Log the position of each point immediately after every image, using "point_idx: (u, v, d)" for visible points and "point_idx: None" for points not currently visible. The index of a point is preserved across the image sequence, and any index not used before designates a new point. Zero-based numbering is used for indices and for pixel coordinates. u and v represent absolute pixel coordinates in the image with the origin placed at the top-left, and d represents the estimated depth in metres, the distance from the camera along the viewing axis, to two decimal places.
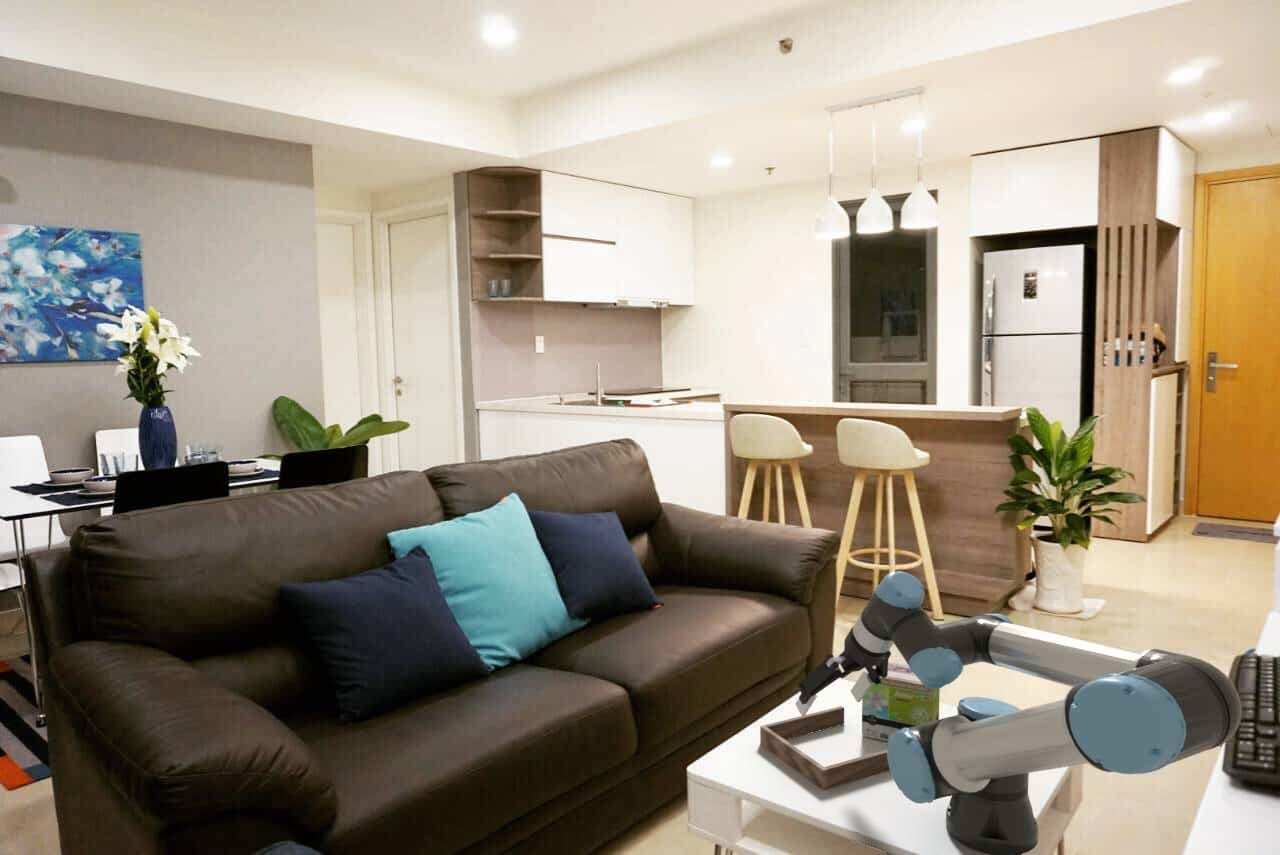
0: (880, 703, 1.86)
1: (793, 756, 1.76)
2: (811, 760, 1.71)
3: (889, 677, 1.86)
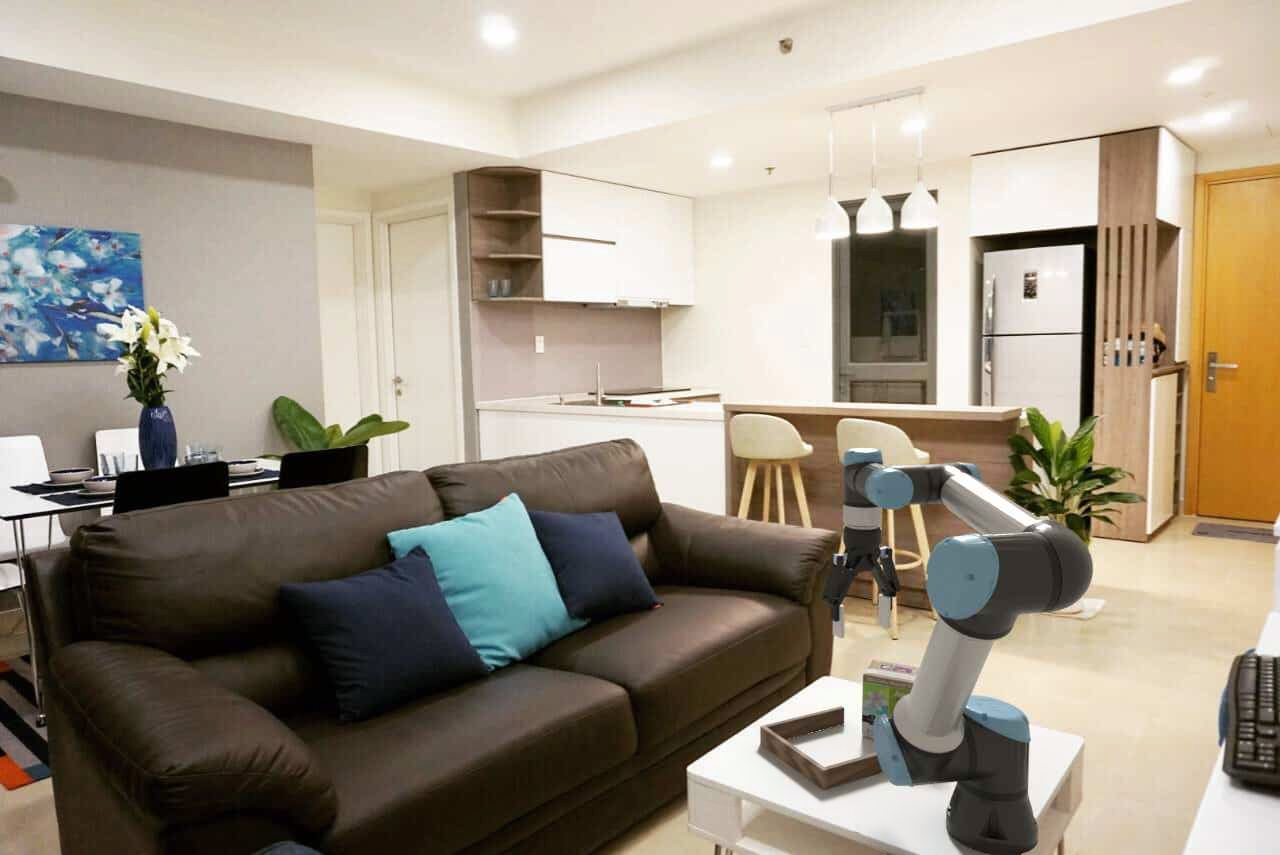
0: (880, 703, 1.86)
1: (793, 756, 1.76)
2: (811, 760, 1.71)
3: (889, 677, 1.86)
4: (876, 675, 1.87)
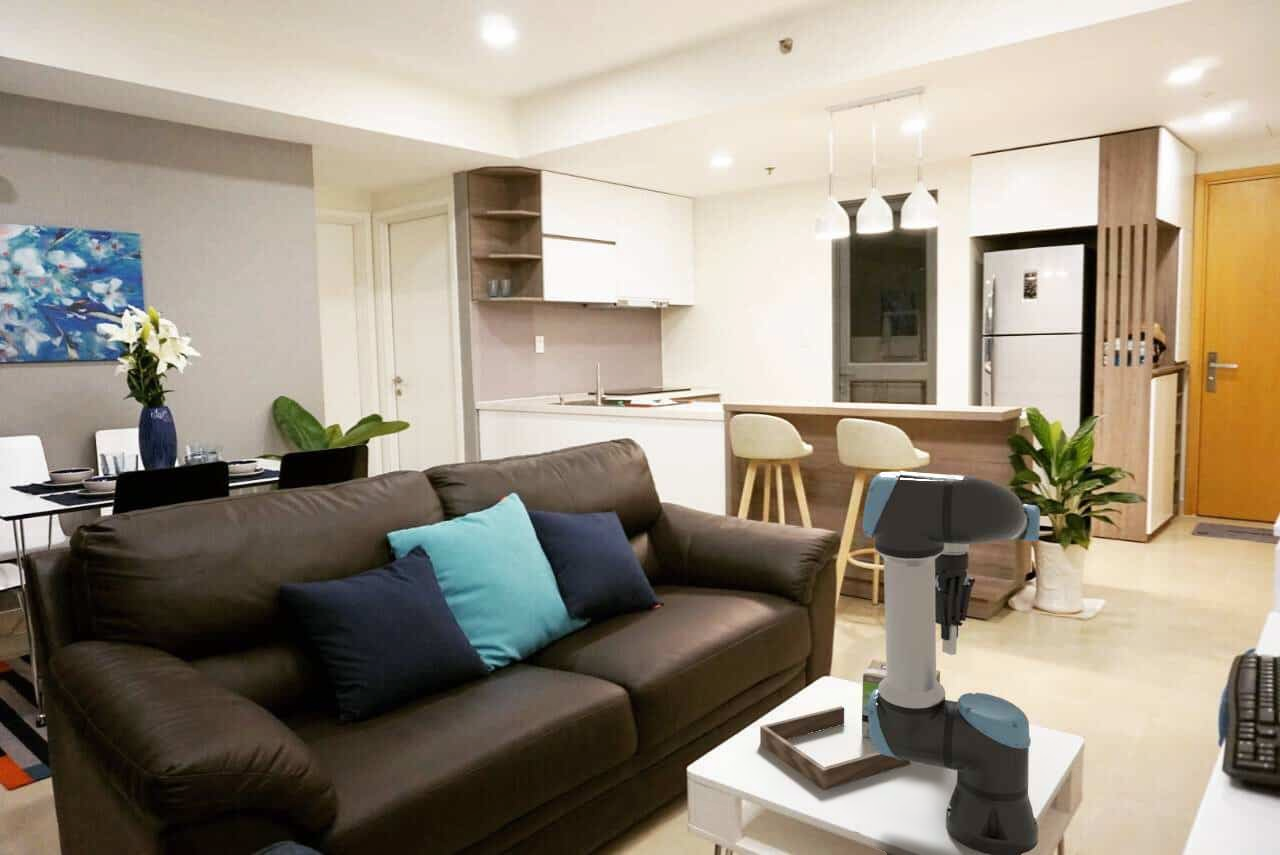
0: None
1: (793, 756, 1.76)
2: (811, 760, 1.71)
3: None
4: (876, 675, 1.87)
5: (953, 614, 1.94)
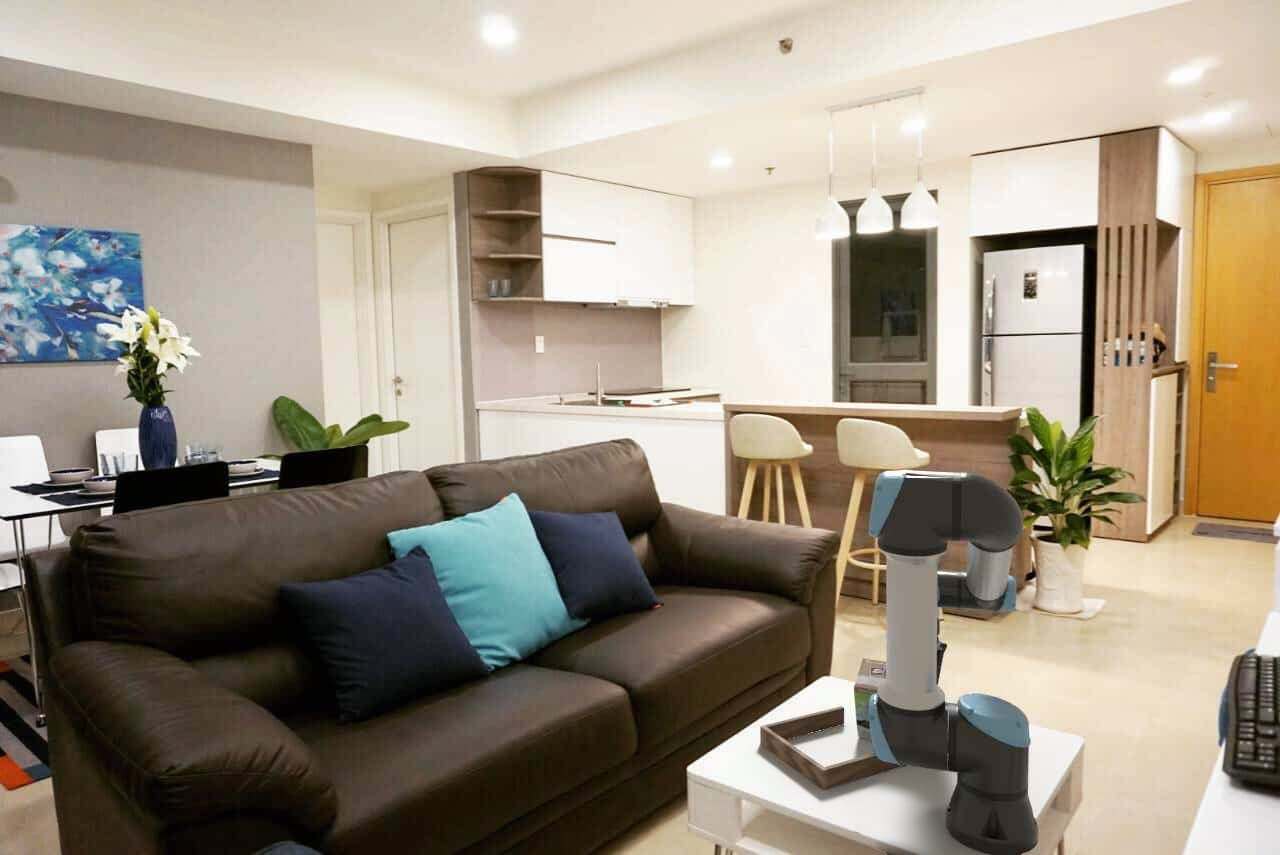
0: None
1: (793, 756, 1.76)
2: (811, 760, 1.71)
3: None
4: (867, 686, 1.82)
5: None
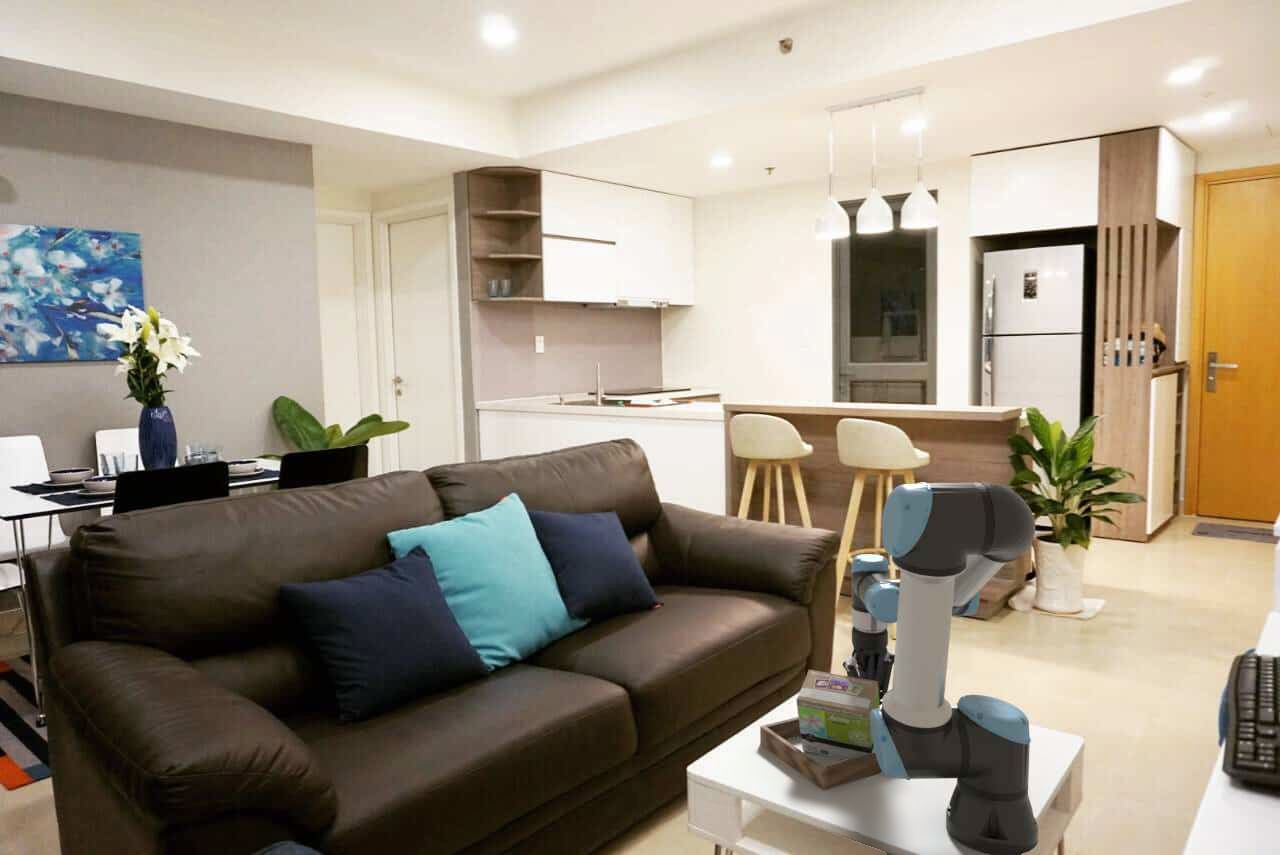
0: (817, 725, 1.78)
1: (793, 756, 1.76)
2: (811, 760, 1.71)
3: (824, 701, 1.75)
4: (810, 699, 1.76)
5: None
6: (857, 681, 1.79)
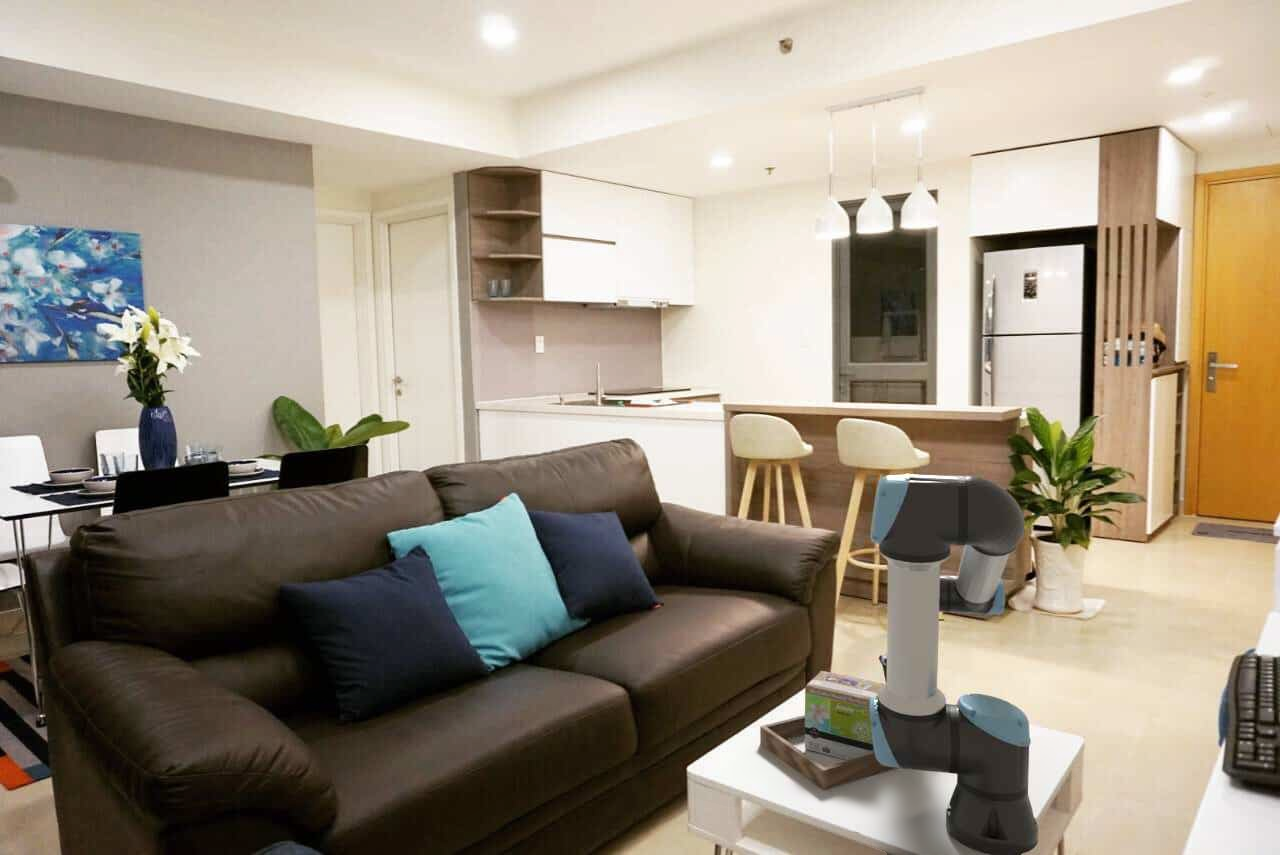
0: (822, 716, 1.81)
1: (793, 756, 1.76)
2: (811, 760, 1.71)
3: (831, 689, 1.80)
4: (818, 687, 1.81)
5: None
6: (867, 681, 1.83)
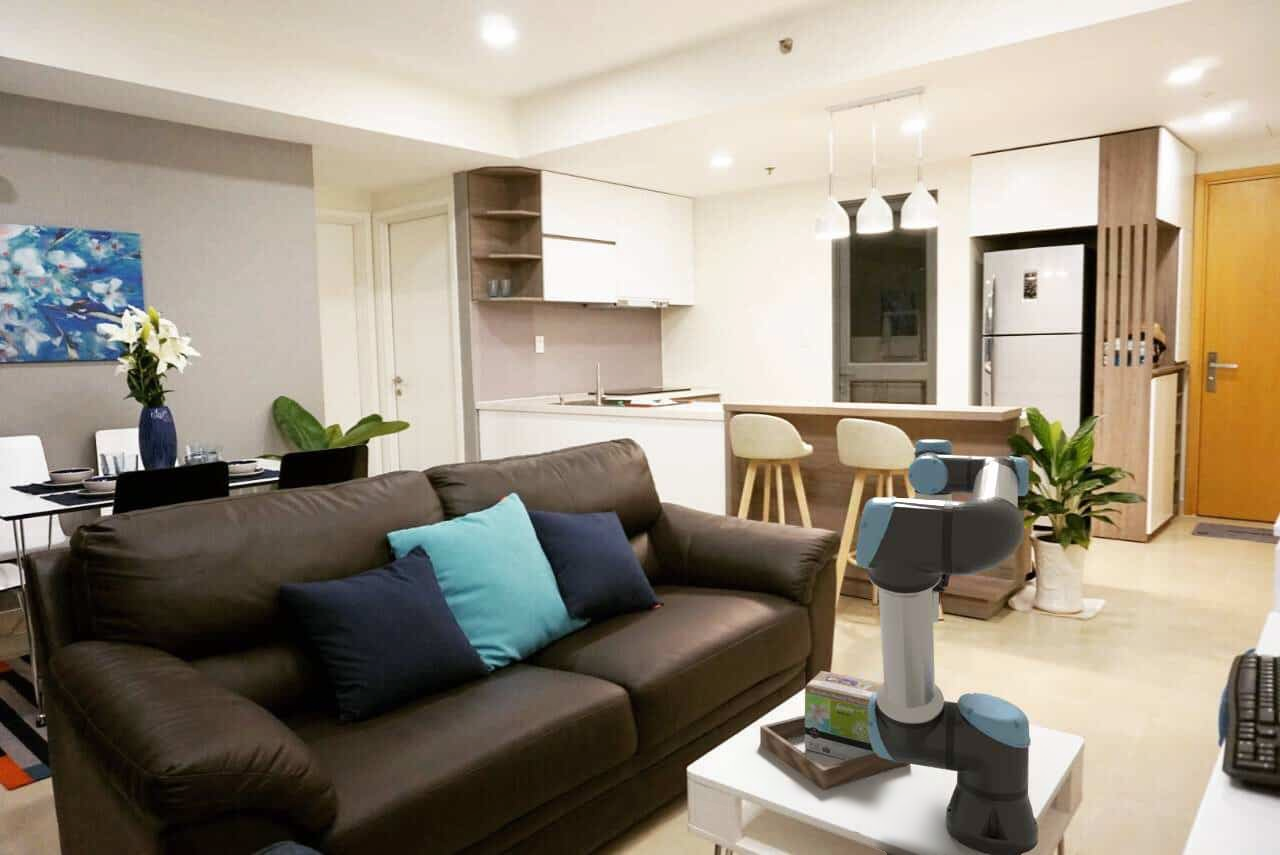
0: (822, 716, 1.81)
1: (793, 756, 1.76)
2: (811, 760, 1.71)
3: (831, 689, 1.80)
4: (818, 687, 1.81)
5: None
6: (867, 681, 1.83)
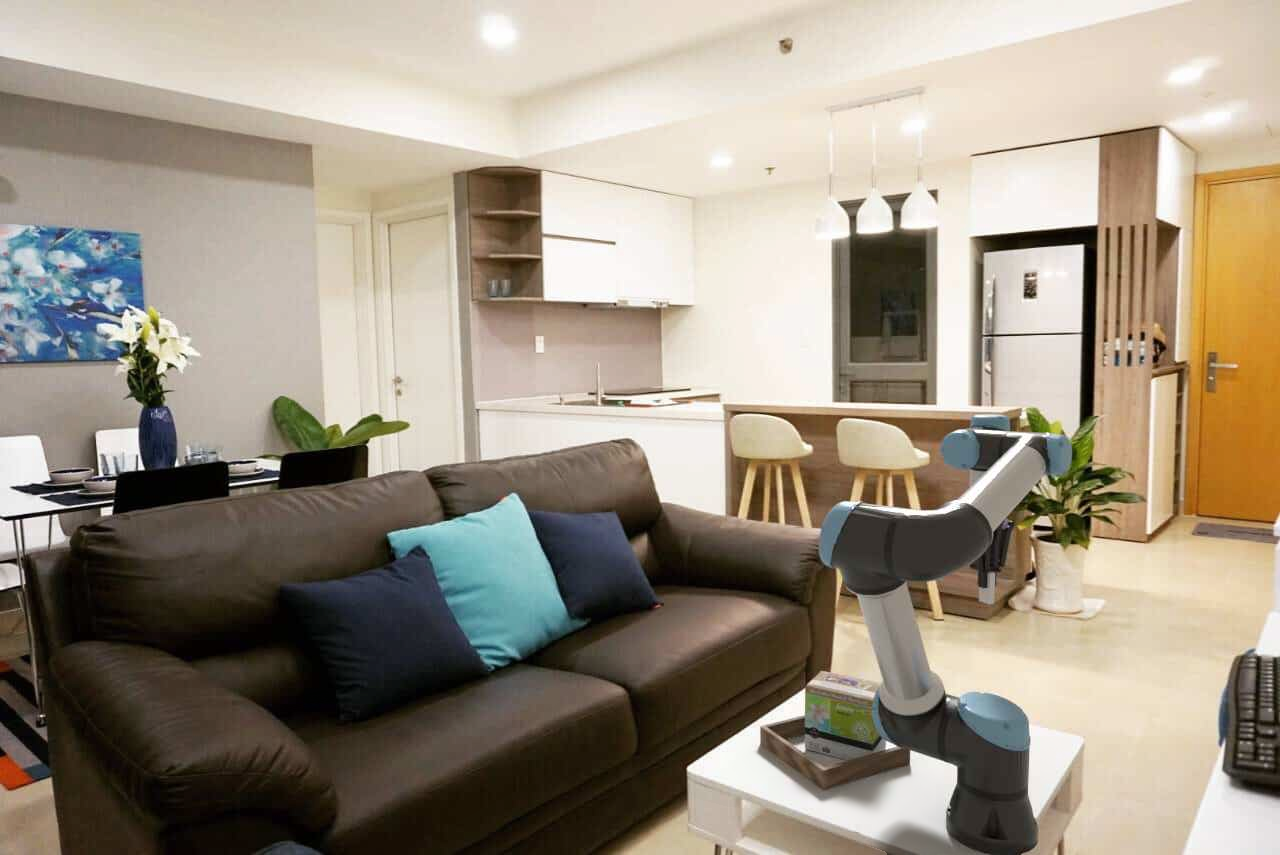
0: (822, 716, 1.81)
1: (793, 756, 1.76)
2: (811, 760, 1.71)
3: (831, 689, 1.80)
4: (818, 687, 1.81)
5: (991, 560, 1.78)
6: (867, 681, 1.83)
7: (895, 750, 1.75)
